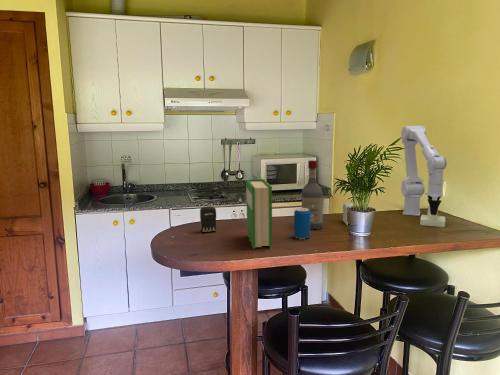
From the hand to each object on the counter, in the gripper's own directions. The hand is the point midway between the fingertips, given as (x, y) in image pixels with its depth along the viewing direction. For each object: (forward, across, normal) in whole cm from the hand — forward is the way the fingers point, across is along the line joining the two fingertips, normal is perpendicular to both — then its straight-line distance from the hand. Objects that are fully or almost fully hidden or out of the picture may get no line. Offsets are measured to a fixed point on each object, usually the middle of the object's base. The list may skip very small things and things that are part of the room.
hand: (433, 212), depth 178 cm
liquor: (+5, +25, -50) cm, 56 cm away
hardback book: (+5, +54, -64) cm, 84 cm away
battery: (+5, +49, -90) cm, 102 cm away
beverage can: (+5, +42, -50) cm, 65 cm away
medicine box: (+5, +13, -36) cm, 38 cm away
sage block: (+5, 0, 0) cm, 5 cm away
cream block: (+2, 0, 0) cm, 2 cm away
